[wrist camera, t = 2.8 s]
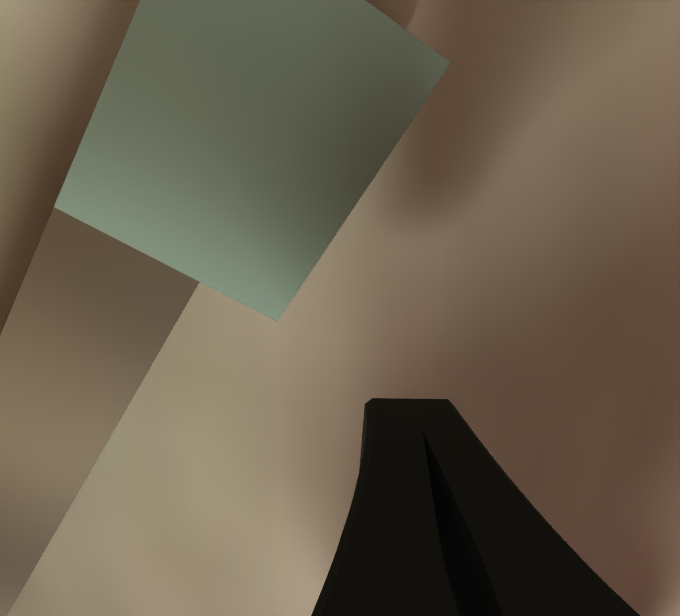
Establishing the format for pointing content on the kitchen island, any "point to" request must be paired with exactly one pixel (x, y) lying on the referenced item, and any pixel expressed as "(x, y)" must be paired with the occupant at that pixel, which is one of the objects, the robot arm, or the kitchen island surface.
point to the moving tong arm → (187, 215)
